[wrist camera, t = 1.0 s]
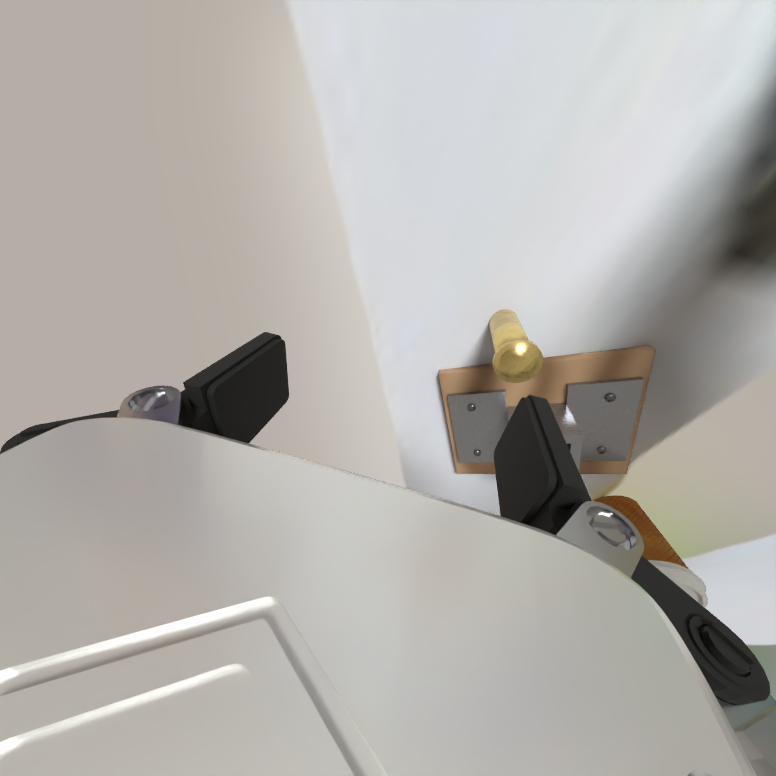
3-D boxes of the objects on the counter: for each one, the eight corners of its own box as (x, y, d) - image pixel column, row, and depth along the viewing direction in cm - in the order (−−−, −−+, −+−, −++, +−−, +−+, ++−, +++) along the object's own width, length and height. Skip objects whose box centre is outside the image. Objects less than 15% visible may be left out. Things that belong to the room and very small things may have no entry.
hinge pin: (521, 302, 30) (543, 338, 22) (522, 336, 32) (542, 380, 23) (484, 309, 31) (491, 345, 23) (486, 341, 33) (494, 385, 25)
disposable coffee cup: (669, 500, 39) (738, 598, 29) (624, 534, 44) (670, 627, 35) (599, 480, 40) (644, 568, 30) (564, 516, 45) (592, 601, 35)
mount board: (648, 345, 29) (655, 350, 28) (622, 466, 38) (626, 473, 37) (439, 370, 36) (438, 374, 35) (457, 467, 45) (456, 473, 44)
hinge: (641, 376, 30) (676, 409, 25) (623, 457, 36) (649, 497, 31) (447, 393, 36) (445, 422, 32) (459, 459, 42) (458, 493, 37)
